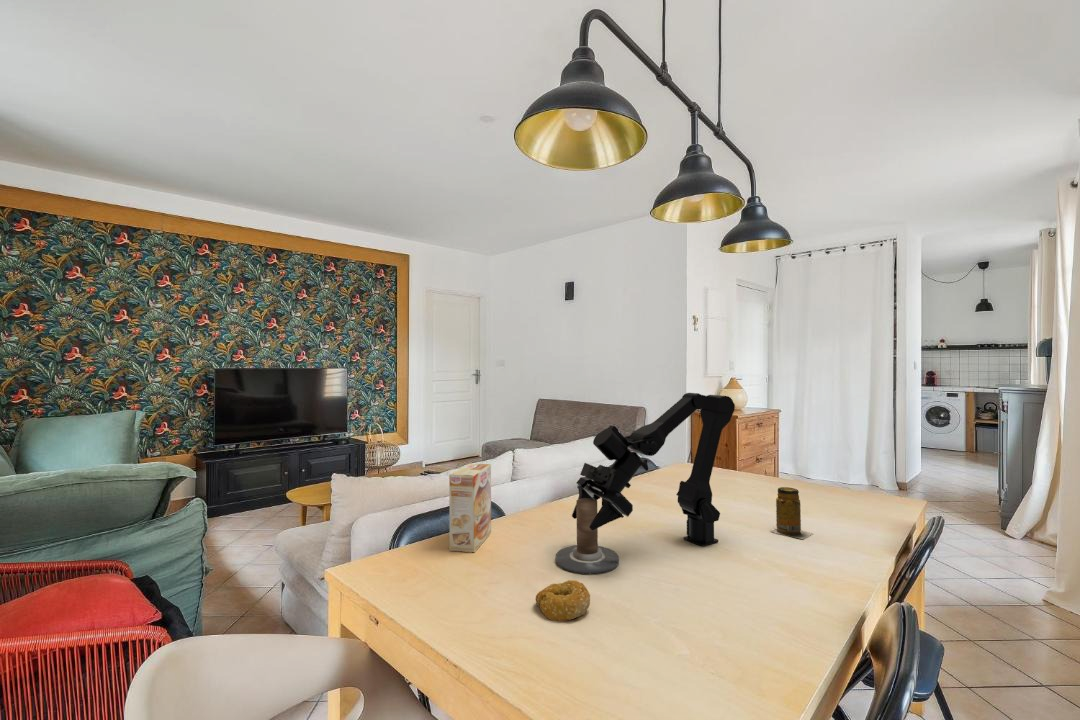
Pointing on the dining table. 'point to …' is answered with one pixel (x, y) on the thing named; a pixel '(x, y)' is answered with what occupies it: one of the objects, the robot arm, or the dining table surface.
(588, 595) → the bagel
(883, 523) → the dining table surface
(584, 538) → the wooden peg on stand
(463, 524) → the coffeecake box
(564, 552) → the base plate
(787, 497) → the condiment
